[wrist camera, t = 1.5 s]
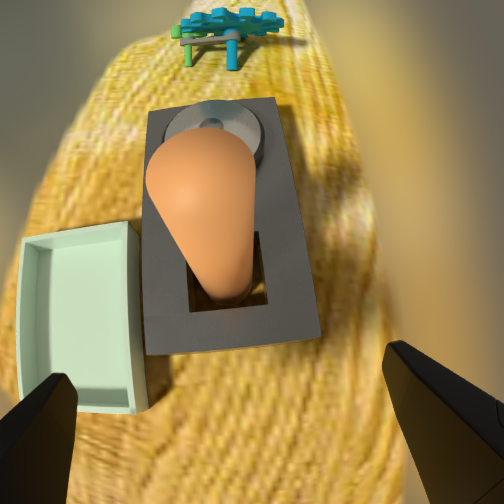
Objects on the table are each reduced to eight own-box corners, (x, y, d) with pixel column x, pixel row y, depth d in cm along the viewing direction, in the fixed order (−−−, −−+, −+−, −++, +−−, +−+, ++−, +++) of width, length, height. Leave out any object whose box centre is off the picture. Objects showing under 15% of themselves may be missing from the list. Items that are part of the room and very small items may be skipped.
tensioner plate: (313, 339, 20) (330, 333, 16) (157, 356, 20) (134, 353, 15) (273, 117, 26) (276, 77, 22) (155, 130, 25) (142, 93, 21)
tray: (149, 408, 18) (136, 414, 16) (39, 402, 18) (20, 404, 16) (139, 235, 22) (127, 220, 20) (39, 249, 22) (22, 238, 20)
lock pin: (254, 302, 21) (262, 212, 9) (205, 307, 21) (144, 227, 8) (248, 255, 22) (248, 122, 10) (201, 260, 22) (148, 135, 9)
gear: (287, 25, 29) (278, -3, 20) (288, 74, 31) (278, 61, 22) (191, 31, 31) (152, 12, 22) (191, 77, 33) (151, 71, 24)
